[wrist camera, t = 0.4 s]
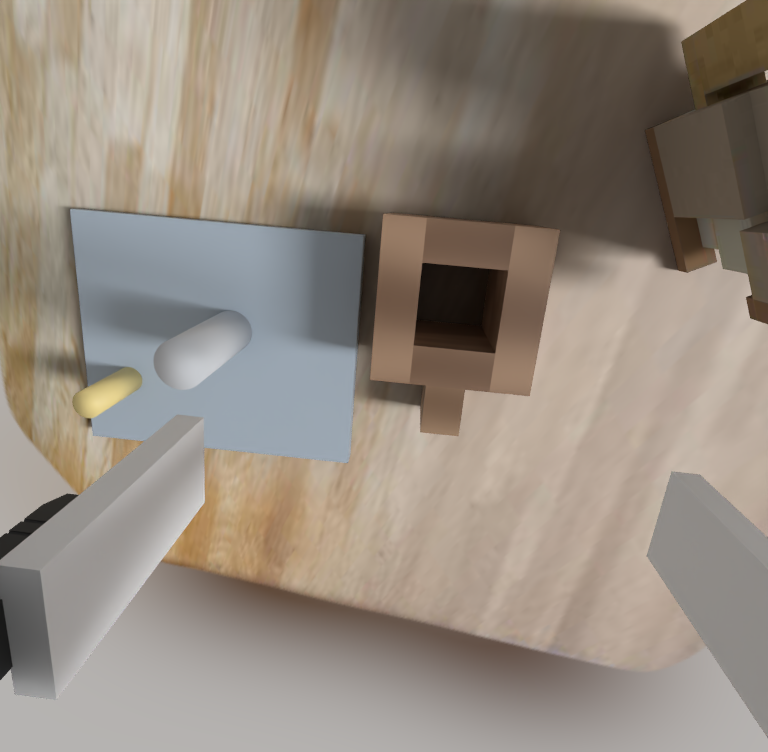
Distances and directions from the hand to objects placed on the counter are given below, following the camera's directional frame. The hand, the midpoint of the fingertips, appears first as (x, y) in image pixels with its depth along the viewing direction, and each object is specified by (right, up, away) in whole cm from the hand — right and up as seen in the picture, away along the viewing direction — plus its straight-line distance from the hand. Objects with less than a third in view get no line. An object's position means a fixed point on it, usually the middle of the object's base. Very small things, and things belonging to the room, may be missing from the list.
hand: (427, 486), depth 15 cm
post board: (-13, +6, +22) cm, 26 cm away
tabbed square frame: (+3, +7, +20) cm, 22 cm away
